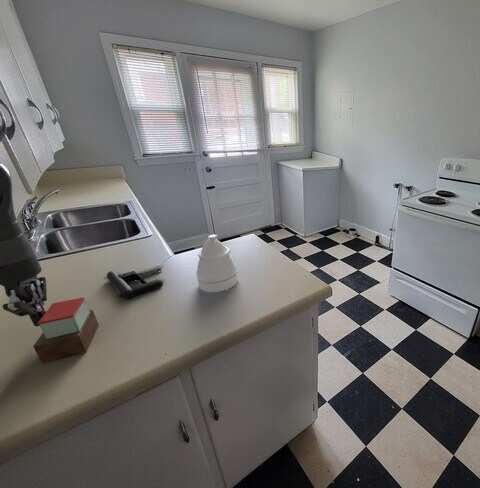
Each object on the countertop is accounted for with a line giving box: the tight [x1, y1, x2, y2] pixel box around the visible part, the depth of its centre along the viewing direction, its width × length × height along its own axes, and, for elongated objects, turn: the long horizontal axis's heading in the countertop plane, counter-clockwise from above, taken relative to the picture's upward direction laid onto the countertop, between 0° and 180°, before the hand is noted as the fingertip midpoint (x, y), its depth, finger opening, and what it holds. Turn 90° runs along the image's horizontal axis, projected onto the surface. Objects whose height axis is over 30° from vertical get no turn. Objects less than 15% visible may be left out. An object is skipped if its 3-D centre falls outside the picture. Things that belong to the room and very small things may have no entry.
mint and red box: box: [38, 296, 90, 339], centre depth 65 cm, size 6×8×5 cm
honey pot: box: [195, 234, 239, 293], centre depth 91 cm, size 13×13×18 cm
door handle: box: [105, 265, 164, 299], centre depth 94 cm, size 3×20×16 cm
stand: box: [33, 309, 100, 364], centre depth 66 cm, size 8×11×5 cm
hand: (42, 323), depth 63 cm, fingers closed
